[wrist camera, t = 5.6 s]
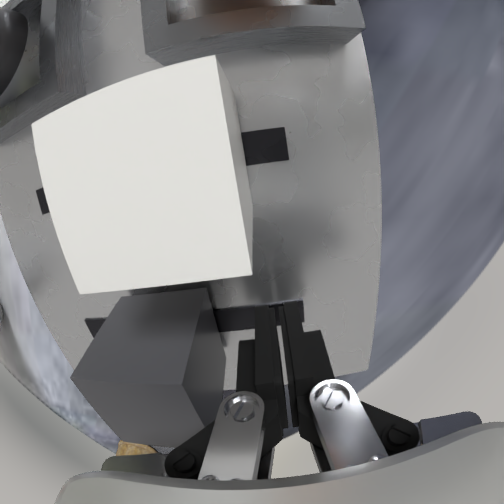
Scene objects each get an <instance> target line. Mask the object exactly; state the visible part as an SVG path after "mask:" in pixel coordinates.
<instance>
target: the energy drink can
mask: <svg viewBox="0 0 504 504" xmlns="http://www.w3.org/2000/svg"><path fill="white" fill-rule="evenodd" d="M2 319H3V311H2V307H1V304H0V331H1V321H2Z"/></svg>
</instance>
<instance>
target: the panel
mask: <svg viewBox="0 0 504 504" xmlns="http://www.w3.org/2000/svg"><path fill="white" fill-rule="evenodd" d="M2 8H5V9H9V10H13V11H16V12H20V13H22V14H23V15H24V16H25V17H26V19H27V22H28V36H27V42H26V46H25V50H24V53H23V56H22V59H21V61H20V64H19V66H18V68H17V71H16V73H15V75H14V77H13V78H12V80H11V82H10V84H9V85H8V87H7V88H6V90H5V91H4V92H3V93H2V95H1V96H0V212H1V215H2V219H3V222H4V225H5V229H6V232H7V235H8V238H9V241H10V244H11V246H12V249H13V252H14V255H15V257H16V260H17V262H18V265H19V268H20V270H21V272H22V275H23V277H24V279H25V282H26V284H27V286H28V289H29V291H30V293H31V295H32V297H33V299H34V301H35V303H36V305H37V307H38V309H39V311H40V313H41V315H42V317H43V319H44V321H45V323H46V325H47V326H48V328H49V330H50V332H51V334H52V335H53V337H54V339H55V341H56V342H57V344H58V346H59V347H60V349H61V351H62V352H63V354H64V355H65V357H66V359H67V360H68V362H69V363H70V365H71V366H72V368H73V369H74V370H75V368H76V367H77V365H78V363H79V362H80V360H81V358H82V357H83V355H84V353H85V352H86V350H87V348H88V347H89V345H90V344H91V342H92V340H93V339H94V337H95V336H96V334H97V332H98V331H99V329H100V328H101V326H102V325H103V323H104V322H105V320H106V318H107V317H108V315H109V314H110V312H111V311H112V309H113V308H114V306H115V305H116V303H117V302H118V301H119V299H120V298H121V297H122V296H133V295H143V294H153V293H163V292H172V291H181V290H190V289H199V288H207V291H208V295H209V299H210V302H211V306H212V310H213V313H214V317H215V321H216V324H217V328H218V331H219V335H220V338H221V341H222V345H223V348H224V351H225V355H226V368H225V378H224V388H223V390H235V389H236V379H237V362H238V345H239V341H240V340H250V339H255V306H262V305H268V306H269V308H274V311H275V318H276V325H277V332H278V339H279V346H280V353H281V361H282V371H283V380H284V385H286V384H288V380H287V372H286V364H285V355H284V347H283V339H282V331H281V324H280V316H279V308H278V307H281V306H283V303H284V302H291V301H297V304H298V308H299V312H300V317H301V321H302V325H303V330H304V332H309V331H315V330H321V333H322V336H323V339H324V342H325V346H326V349H327V353H328V356H329V360H330V363H331V367H332V370H333V374H334V377H336V376H341V375H346V374H351V373H356V372H360V371H365V370H368V366H369V360H370V354H371V348H372V341H373V334H374V326H375V318H376V310H377V300H378V289H379V276H380V259H381V228H382V202H381V171H380V155H379V142H378V131H377V122H376V113H375V106H374V98H373V92H372V85H371V79H370V73H369V68H368V63H367V58H366V53H365V48H364V44H363V39H362V35H361V32H362V31H363V30H364V29H366V26H365V22H364V19H363V15H362V11H361V8H360V5H359V1H358V0H10V1H9V2H8V3H7V4H5V5H4V6H3V7H2ZM212 55H215V56H216V58H217V60H218V61H219V63H220V65H221V67H222V69H223V71H224V73H225V75H226V77H227V79H228V81H229V83H230V85H231V88H232V90H233V92H234V94H235V100H236V106H237V112H238V118H239V124H240V131H241V137H242V143H243V149H244V155H245V161H246V168H247V174H248V180H249V186H250V193H251V199H252V205H253V239H252V275H248V276H240V277H232V278H224V279H216V280H208V281H200V282H192V283H183V284H175V285H166V286H157V287H148V288H139V289H129V290H120V291H110V292H100V293H89V294H80V293H79V291H78V289H77V286H76V284H75V282H74V279H73V277H72V274H71V272H70V269H69V267H68V264H67V262H66V259H65V256H64V254H63V251H62V248H61V245H60V242H59V239H58V236H57V233H56V230H55V227H54V224H53V221H52V218H51V214H50V211H49V207H48V204H47V200H46V196H45V192H44V188H43V184H42V180H41V176H40V171H39V166H38V161H37V156H36V151H35V145H34V139H33V132H32V125H31V124H32V123H34V122H36V121H37V120H39V119H41V118H43V117H44V116H46V115H48V114H50V113H52V112H54V111H55V110H57V109H59V108H61V107H63V106H65V105H67V104H69V103H71V102H73V101H75V100H77V99H80V98H82V97H84V96H86V95H88V94H91V93H93V92H95V91H98V90H100V89H102V88H105V87H107V86H110V85H112V84H115V83H118V82H120V81H123V80H126V79H128V78H131V77H134V76H137V75H140V74H143V73H146V72H149V71H153V70H156V69H159V68H163V67H166V66H170V65H173V64H177V63H181V62H185V61H189V60H193V59H198V58H202V57H207V56H212Z"/></svg>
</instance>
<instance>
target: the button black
mask: <svg viewBox="0 0 504 504" xmlns="http://www.w3.org/2000/svg"><path fill="white" fill-rule="evenodd" d="M27 36H28V22H27V19H26V17H25V16H24V15H23V14H22V13H20V12H16V11H13V10H9V9H5V8H2V7H0V96H1V95H2V93H3V92H4V91H5V90H6V88H7V87H8V85H9V84H10V82H11V80H12V78H13V77H14V75H15V73H16V71H17V68H18V66H19V64H20V61H21V59H22V56H23V53H24V50H25V46H26V42H27Z"/></svg>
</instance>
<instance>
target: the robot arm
mask: <svg viewBox="0 0 504 504" xmlns="http://www.w3.org/2000/svg"><path fill="white" fill-rule="evenodd" d="M278 308H279V316H280V324H281V331H282V339H283V347H284V355H285V364H286V372H287V380H288V389H289V397H290V406H291V414H292V423H293V427H299V434H300V436H301V437H302V438H304V439H305V440H307V441H309V442H310V444H311V448H312V451H313V454H314V457H315V460H316V463H317V466H318V468H319V471H320V473H316V474H310V475H303V476H295V477H287V478H276V479H271V472H272V465H273V458H274V451H275V449H274V447H275V446H276V445H277V444H278V443H279V442H280V441H281V440H282V436H283V429H284V428H288V420H287V410H286V400H285V390H284V380H283V371H282V361H281V353H280V346H279V339H278V332H277V325H276V318H275V311H274V308H269V306H268V305H262V306H255V339H250V340H240V341H239V345H238V362H237V379H236V393H232V394H231V395H229V396H227V397H226V398H225V399H224V400H223V401H222V402H221V404H220V407H219V410H218V413H217V417H216V419H215V420H214V421H213V422H211V423H210V424H209V425H207V426H206V427H205V428H203V429H202V430H201V431H199V432H198V433H197V434H195V435H194V436H192V437H191V438H190V439H188V440H187V441H185V442H184V443H182V444H181V445H180V446H178V447H177V448H175V449H174V450H172V451H171V452H170V453H169V454H162V453H151V454H139V455H122V456H113V457H110V458H108V459H106V461H105V462H104V463H103V465H102V469H101V471H92V472H86V473H82V474H78V475H75V476H73V477H72V478H70V479H69V480H67V482H66V483H65V484H64V485H63V487H62V488H61V490H60V492H59V494H58V496H57V498H56V501H55V504H504V422H489V423H484V424H482V421H481V419H480V417H479V416H478V415H477V414H476V413H473V412H461V413H456V414H451V415H446V416H441V417H436V418H429V419H422V420H420V422H418V423H412V422H410V421H408V420H406V419H403V418H401V417H398V416H396V415H393V414H390V413H388V412H385V411H383V410H381V409H378V408H376V407H374V406H371V405H369V404H367V403H364V402H362V401H360V400H359V399H358V397H357V395H356V393H355V391H354V389H353V388H352V387H351V386H350V385H349V384H348V383H346V382H344V381H341V380H335V377H334V374H333V370H332V367H331V363H330V360H329V356H328V353H327V349H326V346H325V342H324V339H323V336H322V333H321V330H315V331H309V332H304V330H303V325H302V321H301V317H300V312H299V308H298V304H297V301H291V302H284V303H283V306H281V307H278Z"/></svg>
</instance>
